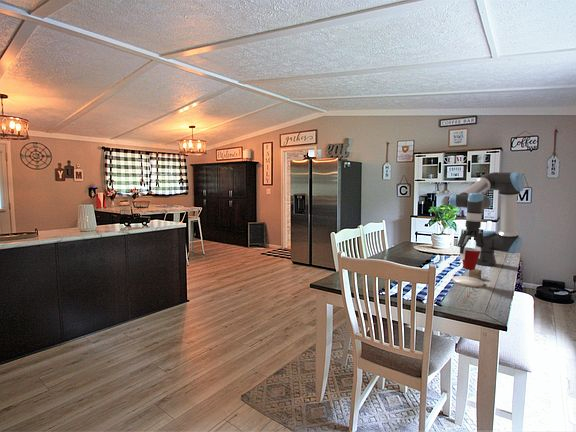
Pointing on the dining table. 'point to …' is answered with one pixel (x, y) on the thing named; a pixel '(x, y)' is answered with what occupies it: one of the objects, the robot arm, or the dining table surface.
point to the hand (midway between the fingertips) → (469, 258)
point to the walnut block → (475, 273)
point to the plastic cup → (471, 258)
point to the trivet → (468, 281)
